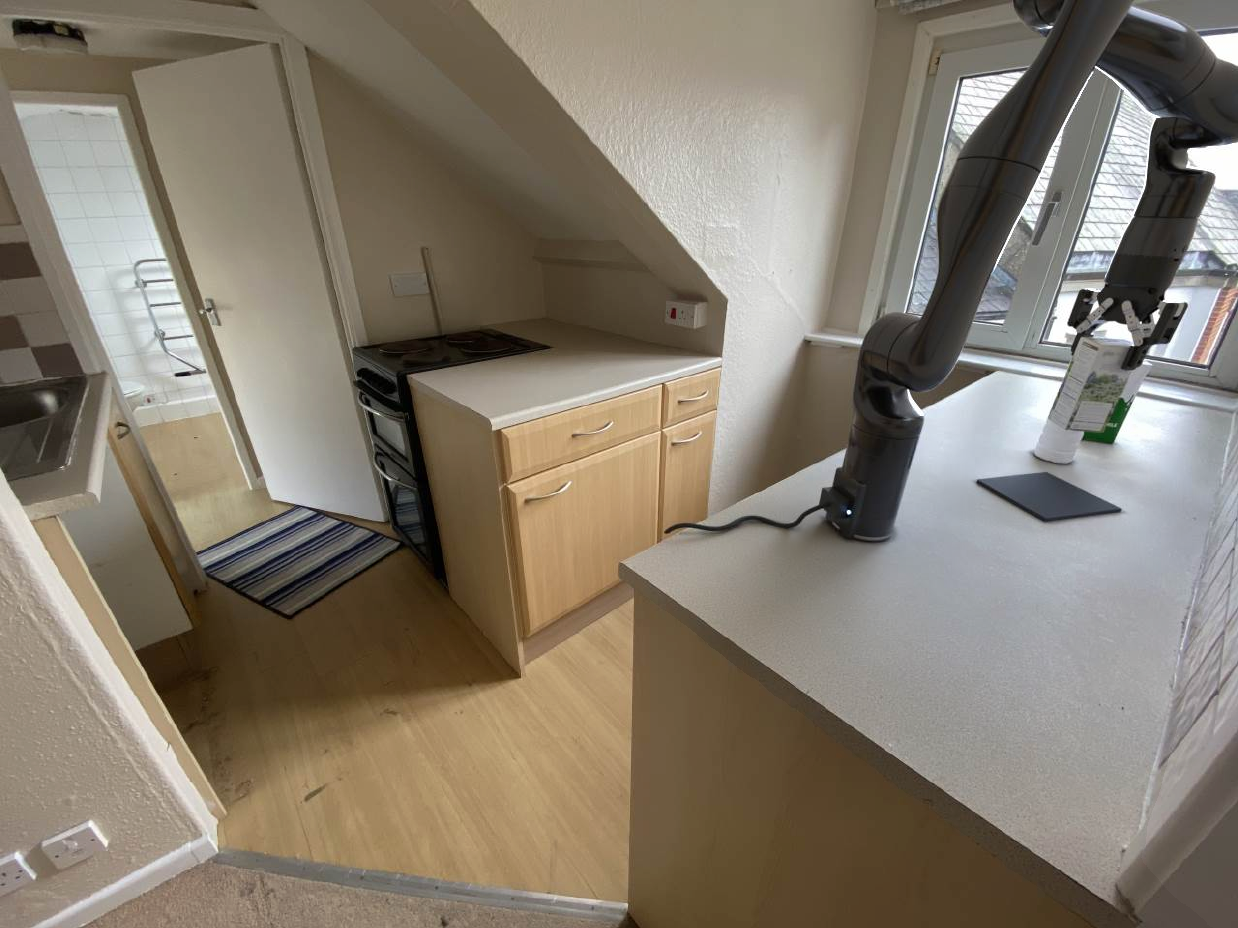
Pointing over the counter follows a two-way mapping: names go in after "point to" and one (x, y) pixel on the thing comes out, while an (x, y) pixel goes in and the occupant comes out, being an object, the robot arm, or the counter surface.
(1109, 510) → the mat
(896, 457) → the robot arm
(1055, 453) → the water bottle
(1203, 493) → the counter surface
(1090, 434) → the milk carton
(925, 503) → the counter surface
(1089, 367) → the syrup box
